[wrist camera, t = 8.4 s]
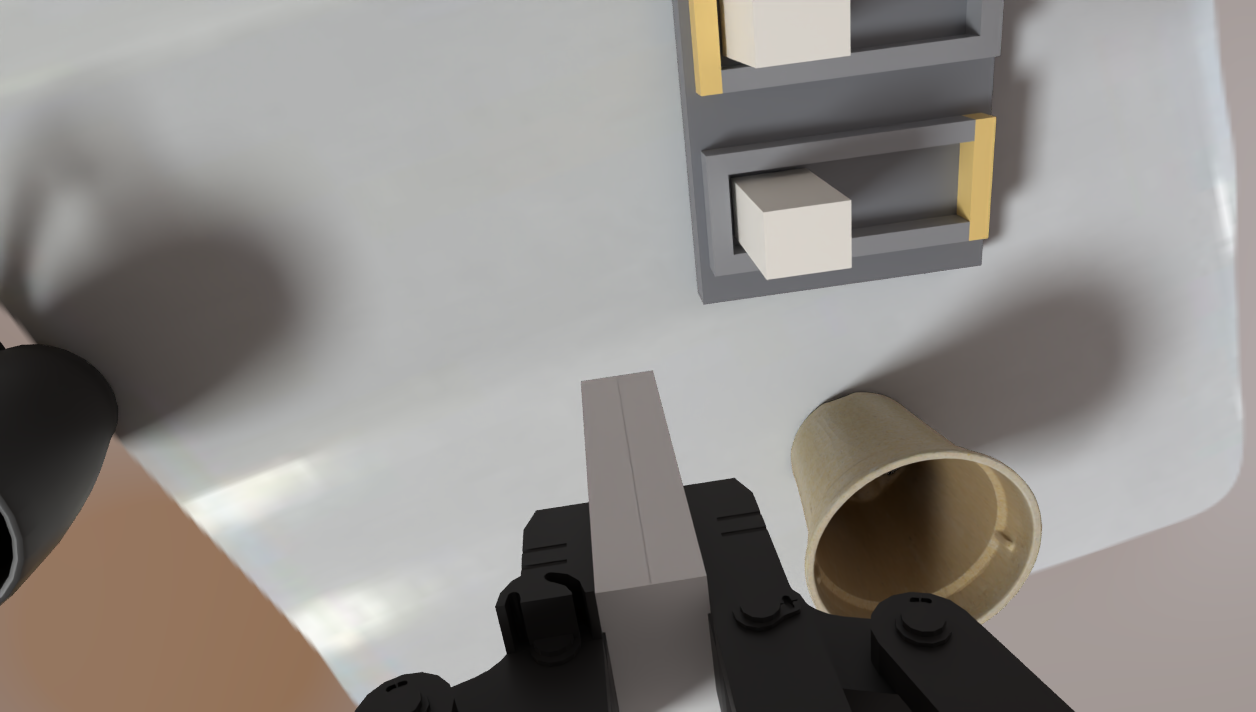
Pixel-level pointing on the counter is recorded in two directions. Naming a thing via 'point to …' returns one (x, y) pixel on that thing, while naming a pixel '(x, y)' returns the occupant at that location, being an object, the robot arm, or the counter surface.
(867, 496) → the flower pot
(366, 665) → the counter surface
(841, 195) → the tab
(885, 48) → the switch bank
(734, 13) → the tab
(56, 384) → the mug
